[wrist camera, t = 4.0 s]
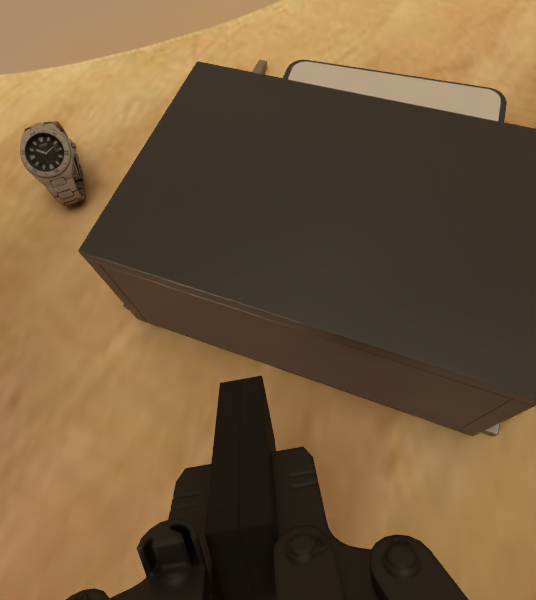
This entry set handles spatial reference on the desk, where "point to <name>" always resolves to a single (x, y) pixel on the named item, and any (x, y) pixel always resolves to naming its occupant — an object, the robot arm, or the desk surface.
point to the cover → (336, 242)
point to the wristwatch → (53, 161)
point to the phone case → (403, 88)
